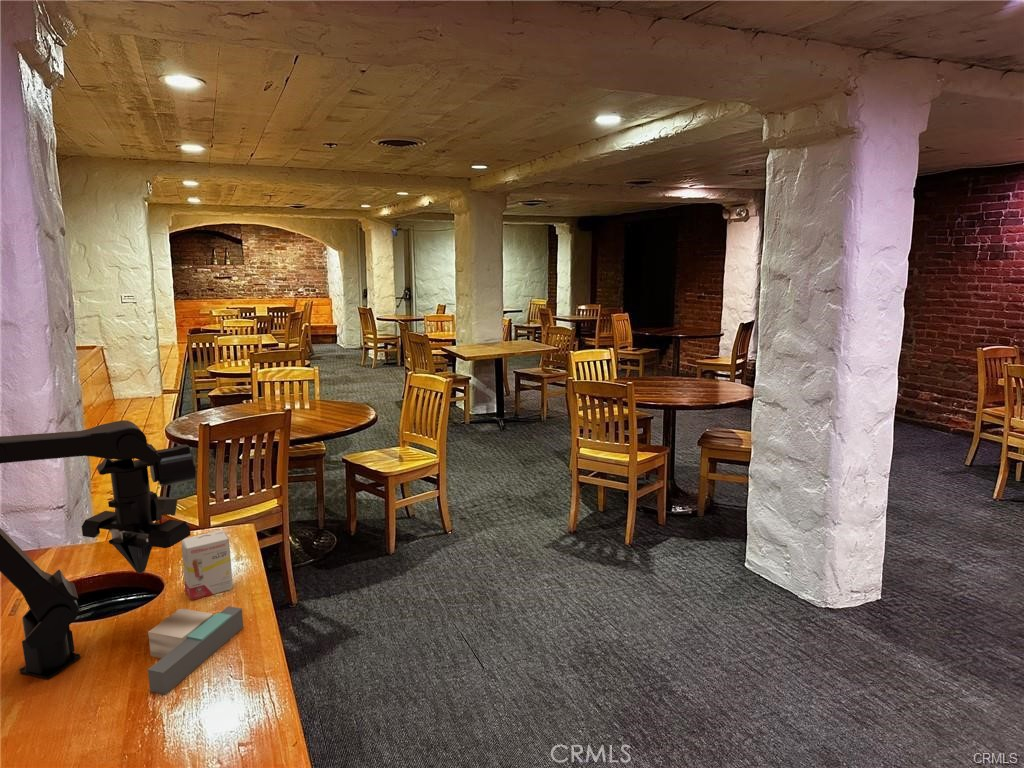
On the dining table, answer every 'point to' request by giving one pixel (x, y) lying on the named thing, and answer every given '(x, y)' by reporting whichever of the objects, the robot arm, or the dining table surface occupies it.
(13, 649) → the dining table surface
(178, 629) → the pale block
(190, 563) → the ink box
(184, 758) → the dining table surface
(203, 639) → the dark bar
